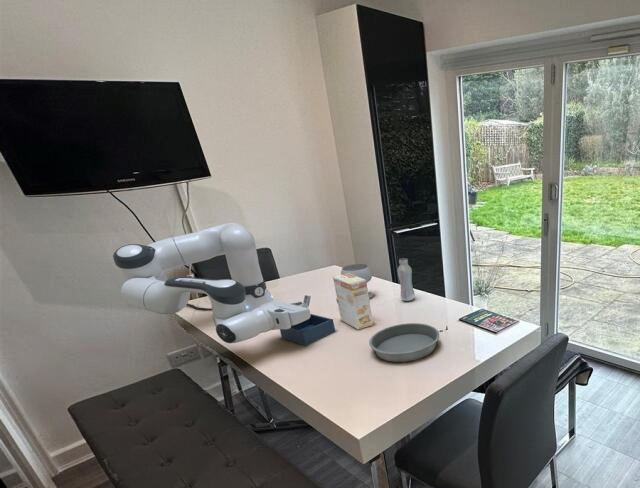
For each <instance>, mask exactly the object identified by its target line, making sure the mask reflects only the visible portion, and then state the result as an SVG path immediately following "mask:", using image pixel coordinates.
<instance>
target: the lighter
mask: <svg viewBox="0 0 640 488" xmlns="http://www.w3.org/2000/svg"><path fill="white" fill-rule="evenodd" d="M311 298H312V297H311V295H308V294H305V295H304V298H303V302H302V303H307V304H308V308H309V307H310V303H311ZM300 305H301V304H300ZM300 305H297V306H300Z"/></svg>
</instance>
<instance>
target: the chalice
mask: <svg viewBox="0 0 640 488" xmlns="http://www.w3.org/2000/svg"><path fill="white" fill-rule="evenodd" d="M346 273H350V274H352V275H355V276H357V277H360V278H362V279H365V280H366V282H367V284H368V283H369V282H371V280H372V278H373V273H372V270H371V269H370V267H369V266H368V265H367V264H364V263H355V264H348V265H345V266H343V267H342V268H341V271H340V275H341V274H346ZM368 295H369V299H371V298H372V297H373V296H374V294H373V293H372V292H370V291H368Z"/></svg>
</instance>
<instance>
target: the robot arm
mask: <svg viewBox="0 0 640 488" xmlns="http://www.w3.org/2000/svg"><path fill="white" fill-rule="evenodd" d="M254 238H255V237H254V234H252V233H251V231H249V230H248V229H247V228H246V227H245V226H244V225H242V224H240V223H237V222H226V223H223V224H219V225H215V226H212V227H209V228H206V229H201V230H198V231H195V232H190V233H185V234H181V235H177V236H176V235H175V236H171V237H167V238H163V239H160V240H157V241H154V242H151V243H149V244H147V245H145V244H137V243H131V244H125V245H122V246H119V247H118V248H117V249H115V251H114V252H113V254H112V258H113V262H114V264H115V266H116V267H117V268H118V270H119V272H120V274H121V276H122V277H123V279H124V280H125V282H123V284H122V285H121V288H120V295H121V297H122V299H123V300H124V301H125V302H127V303H129V304H130V305H133V306H135V307H137V308H140V309H143V310H145V311H148V312H152V313H156V314H160V315H175V314H176V313H179V312H181V311H183V309H185V307H191V308H193V309H196V310H199V311H212V317H213V323H214V325H215V332H216V334H217V337H218V338H219V339H220V340H221V341H222V342H224V343H227V344H237V343H241V342H244V341H248V340H251V339H253V338H255V337H257V336H259V335H260V334H262V333H268V332H270V331H275V330H280V329H289V328H291V325H296V324H299V323H301V322H303V321H305V320H307V319H309V318H310V317H311V315H310V314H311V311H310V308H309V307H308V304H307V303H303V302H302V301H296V302H288V303H287V302H284V301H280V300H274V299H273V298H274V296H273V295H272V294H271V293H272V292H271V291H270V290H269V289H267V283H266V281H265V280H264V278H263V274H262V270H261V267H260V262H259V257H258V256H259V255H258V251H257V247H256V242H255V241H256V240H255V239H254ZM223 254H224V255H225V259H226V263H227V267H228V271H229V274H230V277H231V279H230V278H225V279H224V278H223V279H222V278H221V279H219V278H218V279H217V278H216V279H213V278H203V277H194V276H175V277H171V278H168V276H167V274H166V272H165V270H166V269H172V268H179V267H184V266H188V265H191V264H195V263H200V262H203V261H208V260H211V259H213V258H215V257H218V256H221V255H223ZM191 293H193V294H203V295H206V296H207V297H208V299H209V301H210V305H211V308H208V307H199V306H196V305H194V304H191V303H190V302H189V301H190V298H191ZM300 304H301V305H300ZM297 305H300V306H297Z"/></svg>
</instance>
